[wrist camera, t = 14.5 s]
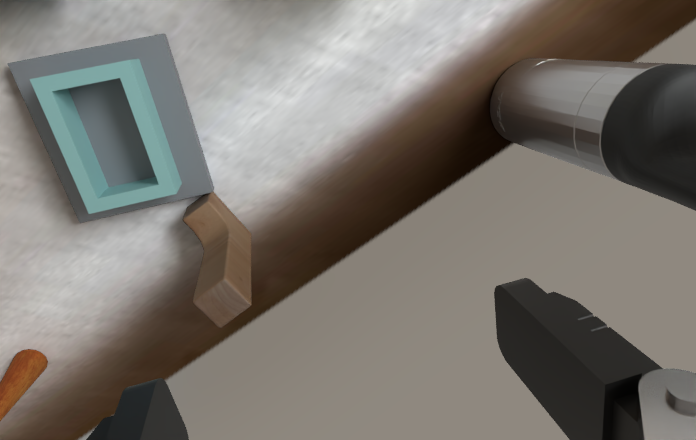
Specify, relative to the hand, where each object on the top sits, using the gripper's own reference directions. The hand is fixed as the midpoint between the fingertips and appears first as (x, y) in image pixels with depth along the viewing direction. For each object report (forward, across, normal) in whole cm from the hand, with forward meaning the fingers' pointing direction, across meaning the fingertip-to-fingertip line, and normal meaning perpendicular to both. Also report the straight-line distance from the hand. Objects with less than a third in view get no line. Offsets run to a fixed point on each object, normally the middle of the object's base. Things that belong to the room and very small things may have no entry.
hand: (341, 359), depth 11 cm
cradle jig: (+38, +14, -2) cm, 41 cm away
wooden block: (+38, +8, +9) cm, 40 cm away
